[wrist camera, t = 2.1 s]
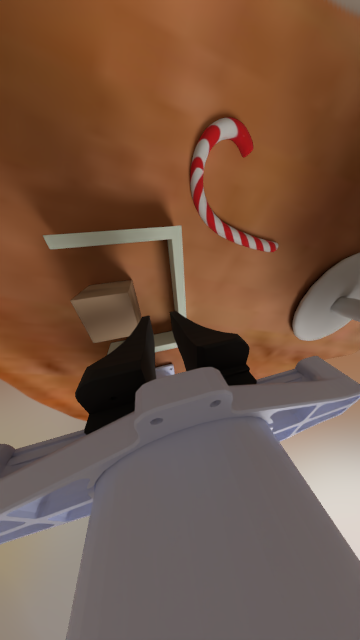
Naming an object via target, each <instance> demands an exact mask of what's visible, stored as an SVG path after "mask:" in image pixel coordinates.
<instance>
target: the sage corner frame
mask: <svg viewBox="0 0 360 640" xmlns="http://www.w3.org/2000/svg"><path fill="white" fill-rule="evenodd" d="M43 237H44V239H45V241H46V243H47V245H48V247H49V248H50V249H62V248H74V247H85V246H97V245H108V244H120V243H131V242H143V241H155V240H166V239H167V241H168V250H169V260H170V269H171V279H172V288H173V298H174V307H175V311H177V312H178V313H180V314H181V315H183V316H184V317H185V318H186V302H185V284H184V266H183V248H182V230H181V226H170V227H156V228H142V229H128V230H114V231H100V232H85V233H71V234H57V235H43ZM124 341H125V340H124ZM124 341H119V342H114V343H111V344H110V347H109V350H108V353H107V355H108V354H110V353H111V352H112V351H114V350H115V349H116V348H117V347H118V346H120V345H121V344H122V343H123V342H124ZM154 342H155V352H159V351H163V350H168V349H172V348H177V347H178V346H177V344H176V341H175V339H174V335H173V332H172V331H170V332H165V333H160V334H155V335H154Z"/></svg>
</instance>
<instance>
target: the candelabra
mask: <svg viewBox="0 0 360 640" xmlns="http://www.w3.org/2000/svg"><path fill="white" fill-rule="evenodd" d="M352 319H353V320H356V321H359V322H360V253H357V254H355V255H352V256H350V257H348V258H345V259H343V260H342V261H340V262H339V263H338V264H336V265H335V266H333V267H332V268H330V269H329V270H328V271H326V272H325V273H324V274H323V275H322V276H321V277H320V278H319V279H318V280H317V281H316V282H315V283H314V284H313V285H312V286H311V288H310V289H309V291H308V292H307V293H306V295H305V296H304V297H303V299H302V300H301V302H300V304H299V306H298V308H297V310H296V312H295V314H294V318H293V324H292V327H293V332H294V335H295V336H296V337H298V338H299V339H300V340H307V341H312V340H316V339H320V338H323V337H325V336H327V335H330V334H332V333H334V332H335V331H337V330H338V329H340V328H342V327H343V326H344V325H346V324H347V323H348V322H349V321H351V320H352Z"/></svg>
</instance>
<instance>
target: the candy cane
mask: <svg viewBox="0 0 360 640" xmlns="http://www.w3.org/2000/svg"><path fill="white" fill-rule="evenodd" d="M224 139H229V140H232V141H233V142H234V143H235V144H236V145H237V147H238V148H239V150H240V153H241V155H242V157H246V156H247V155H248V154H249V153H250V152H251V151H252V150H253V142H252V139H251V136H250V134H249V132H248V130H247V128H246V127H245V126H244V124H243V123H242V122H240V121H239V120H237V119H235V118H231V117H227V118H222V119H219V120H217V121H215V122H214V123H212V124H211V125H210V126H209V127H207V128H206V129H205V131H204V132H203V134H202V136H201V137H200V139H199V141H198V143H197V146H196V148H195V151H194V155H193V158H192V163H191V172H190V185H191V193H192V198H193V201H194V204H195V207H196V209H197V211H198V213H199V215H200V217H201V218H202V219H203V221H204V222H205V223H206V224H207V225H208V226H209V227H210V228H211V229H212V230H213V231H214V232H215V233H217V234H218V235H220V236H222V237H223V238H225V239H228V240H230V241H232V242H235V243H237V244H240V245H243V246H246V247H249V248H252V249H256V250H261V251H266V252H274V251H276V250H277V248H278V243H276V242H273V241H268V240H264V239H260V238H257V237H254V236H251V235H248V234H246V233H243V232H241V231H239V230H237V229H235V228H233V227H231V226H229V225H227V224H226V223H224V222H223V221H221V220H220V219H219V218H218V217H217V216H216V215H215V214H214V213H213V211H212V210H211V208H210V207H209V205H208V203H207V200H206V197H205V194H204V188H203V172H204V166H205V162H206V159H207V156H208V154H209V152H210V150H211V149H212V147H213V146H214V145H215V144H216V143H218V142H219V141H221V140H224Z"/></svg>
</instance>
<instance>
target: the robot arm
mask: <svg viewBox="0 0 360 640" xmlns="http://www.w3.org/2000/svg"><path fill="white" fill-rule="evenodd" d="M170 318H171V325H172V332H173V335H174V339H175V341H176V344H177V346H178V349H179V351H180V353H181V356H182V358H183V361H184V365H185V368H186V372H182V373H178V374H175V373H174V367H173V364H169V365H165V366H161V367H157V368H155V342H154V335H153V330H152V325H151V321H150V317H149V316H145V317H142V318H141V320H140V322H139V323H138V325H137V326H136V328H135V329H134V331H133V332H132V333H131V335H130V336H129V337H128V338H127V339H126V340H125V341H124V342H123V343H122V344H121V345H120V346H118V347H117V348H116V349H115V350H114V351H112V352H111V353H110V354H108V355H107V356H105V357H104V358H102V359H101V360H99V361H97V362H95V363H94V364H92V365H90V366H89V367H87V368H86V370H85V372H84V374H83V376H82V379H81V381H80V383H79V385H78V388H77V390H76V392H75V397H76V399H77V401H78V402H79V403H80V404H81V405H82V407H83V408H84V409H85V410H86V411H87V412H88V413H89V417H88V420H87V424H86V426H85V429H84V430H81V431H77V432H74V433H71V434H67V435H64V436H60V437H57V438H53V439H50V440H46V441H43V442H40V443H36V444H32V445H29V446H26V447H22V448H19V449H14V448H13V447H12V446H10V445H7V444H0V544H3V543H6V542H9V541H12V540H15V539H18V538H21V537H24V536H27V535H30V534H33V533H36V532H40V531H43V530H46V529H49V528H52V527H55V526H58V525H62V524H65V523H68V522H71V521H74V520H78V519H81V518H84V517H87V516H90V518H89V524H88V528H87V534H86V539H85V544H84V549H83V554H82V559H81V564H80V570H79V575H78V580H77V585H76V590H75V595H74V601H73V605H72V611H71V616H70V621H69V626H68V632H67V636H66V640H360V561H359V559H358V558H357V556H356V555H355V553H354V552H353V551H352V549H351V548H350V546H349V545H348V543H347V542H346V540H345V539H344V537H343V536H342V534H341V533H340V531H339V530H338V528H337V527H336V525H335V524H334V522H333V521H332V520H331V518H330V516H329V515H328V514H327V512H326V511H325V509H324V508H323V506H322V505H321V503H320V502H319V500H318V499H317V497H316V496H315V494H314V493H313V491H312V490H311V488H310V487H309V485H308V484H307V483H306V481H305V480H304V478H303V477H302V475H301V474H300V472H299V471H298V469H297V468H296V466H295V465H294V463H293V462H292V460H291V459H290V457H289V456H288V454H287V453H286V451H285V450H284V448H283V447H282V445H281V444H280V441H282V440H285V439H287V438H289V437H291V436H293V435H295V434H297V433H299V432H301V431H304V430H306V429H308V428H310V427H312V426H314V425H316V424H319V423H321V422H323V421H326V420H328V419H331V418H333V417H336V416H338V415H340V414H342V413H343V412H344V411H346V410H347V409H348V408H349V407H350V406H352V405H353V404H354V403H355V402H356V401H357V400H359V399H360V384H358V383H357V382H356V381H354V380H353V379H351V378H350V377H348V376H347V375H345V374H344V373H342V372H341V371H339V370H338V369H336V368H334V367H333V366H331V365H330V364H328V363H327V362H325V361H324V360H322V359H321V358H319V357H318V356H313V357H309V358H305V359H302V360H301V361H299V362H298V363H297V365H296V367H295V369H292V370H289V371H285V372H282V373H278V374H275V375H271V376H268V377H265V378H261V379H258V380H256V379H255V378H254V377H253V376H252V375H251V373H250V372H249V370H250V368H249V367H248V366H247V364H246V362H247V358H248V354H249V346H248V344H247V343H246V342H245V341H244V340H243V339H242V338H241V337H240V336H239V335H238V334H233V333H225V332H220V331H216V330H212V329H209V328H205V327H203V326H200V325H198V324H196V323H194V322H192V321H190V320H189V319H187V318H185V317H184V316H183V315H181V314H180V313H178V312H177V311H173V312H170Z"/></svg>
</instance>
